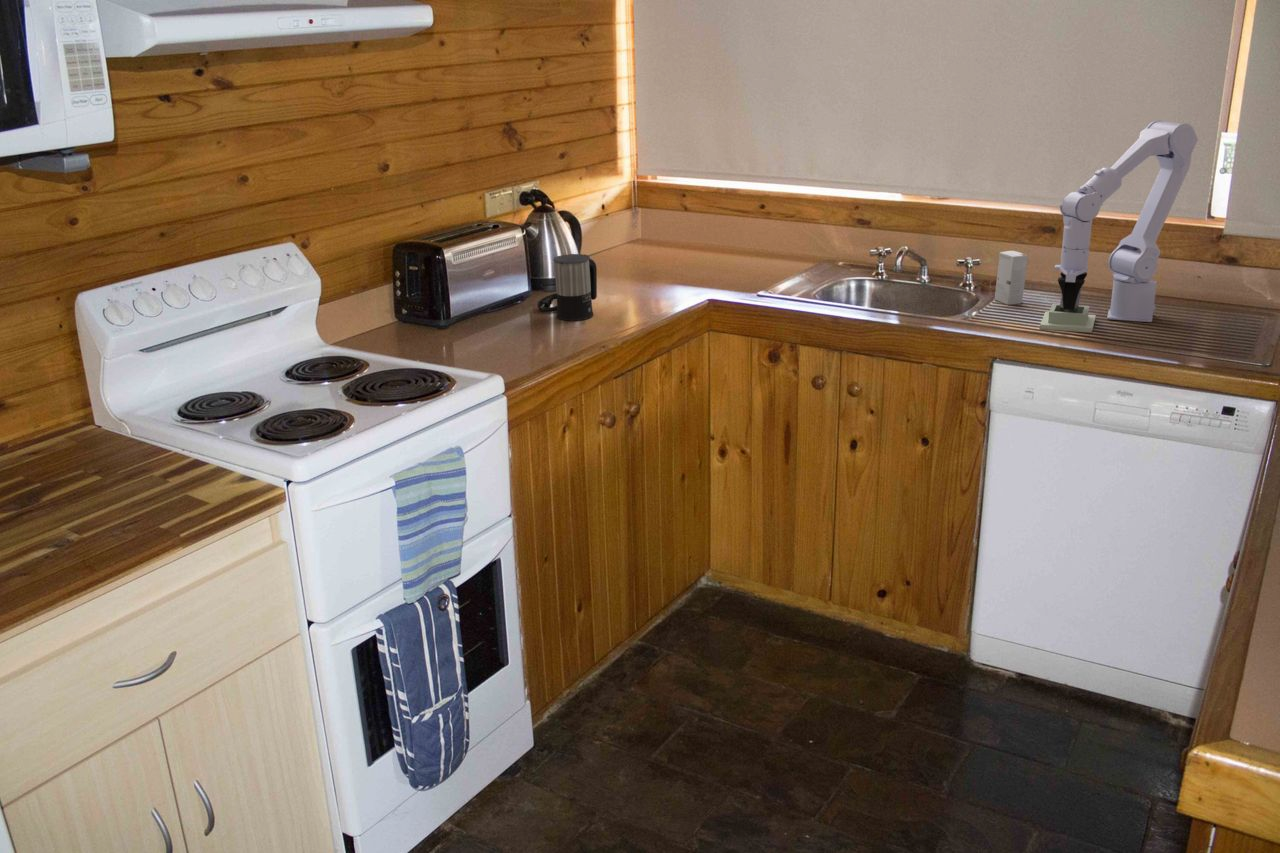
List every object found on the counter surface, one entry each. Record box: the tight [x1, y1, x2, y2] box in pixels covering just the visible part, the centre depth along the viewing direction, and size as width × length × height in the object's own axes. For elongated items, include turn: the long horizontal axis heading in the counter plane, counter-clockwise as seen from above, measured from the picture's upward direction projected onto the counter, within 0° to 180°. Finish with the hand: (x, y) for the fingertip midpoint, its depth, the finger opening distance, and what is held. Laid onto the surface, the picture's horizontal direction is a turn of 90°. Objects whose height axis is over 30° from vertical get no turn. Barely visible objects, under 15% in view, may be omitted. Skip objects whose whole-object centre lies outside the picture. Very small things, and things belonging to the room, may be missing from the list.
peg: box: [1059, 289, 1082, 313], centre depth 256 cm, size 4×4×7 cm
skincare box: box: [994, 250, 1028, 306], centre depth 276 cm, size 6×4×12 cm
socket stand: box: [1039, 303, 1097, 334], centre depth 257 cm, size 11×12×4 cm
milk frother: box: [537, 253, 598, 322], centre depth 280 cm, size 14×16×15 cm
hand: (1069, 306), depth 257 cm, fingers open, 4 cm apart
